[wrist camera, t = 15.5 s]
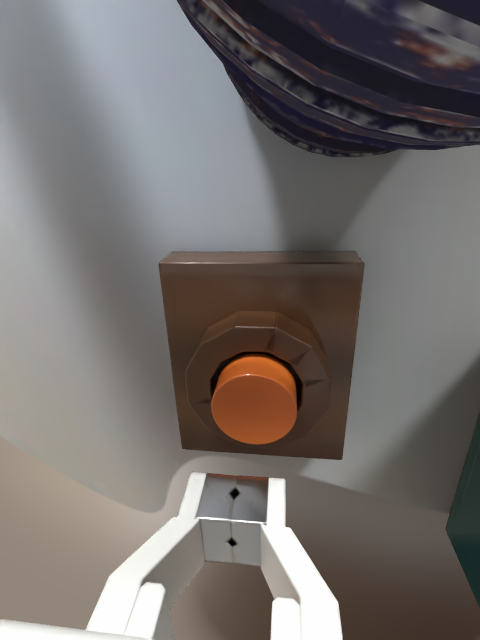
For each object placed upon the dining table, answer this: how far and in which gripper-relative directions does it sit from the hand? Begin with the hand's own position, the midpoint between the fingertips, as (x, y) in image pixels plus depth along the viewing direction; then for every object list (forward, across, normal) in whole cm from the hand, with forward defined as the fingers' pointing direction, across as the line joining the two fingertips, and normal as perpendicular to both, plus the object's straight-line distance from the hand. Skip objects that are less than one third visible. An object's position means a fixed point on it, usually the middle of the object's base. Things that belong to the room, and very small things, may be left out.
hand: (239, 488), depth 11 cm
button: (+6, 0, 0) cm, 6 cm away
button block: (+9, 0, 0) cm, 9 cm away
